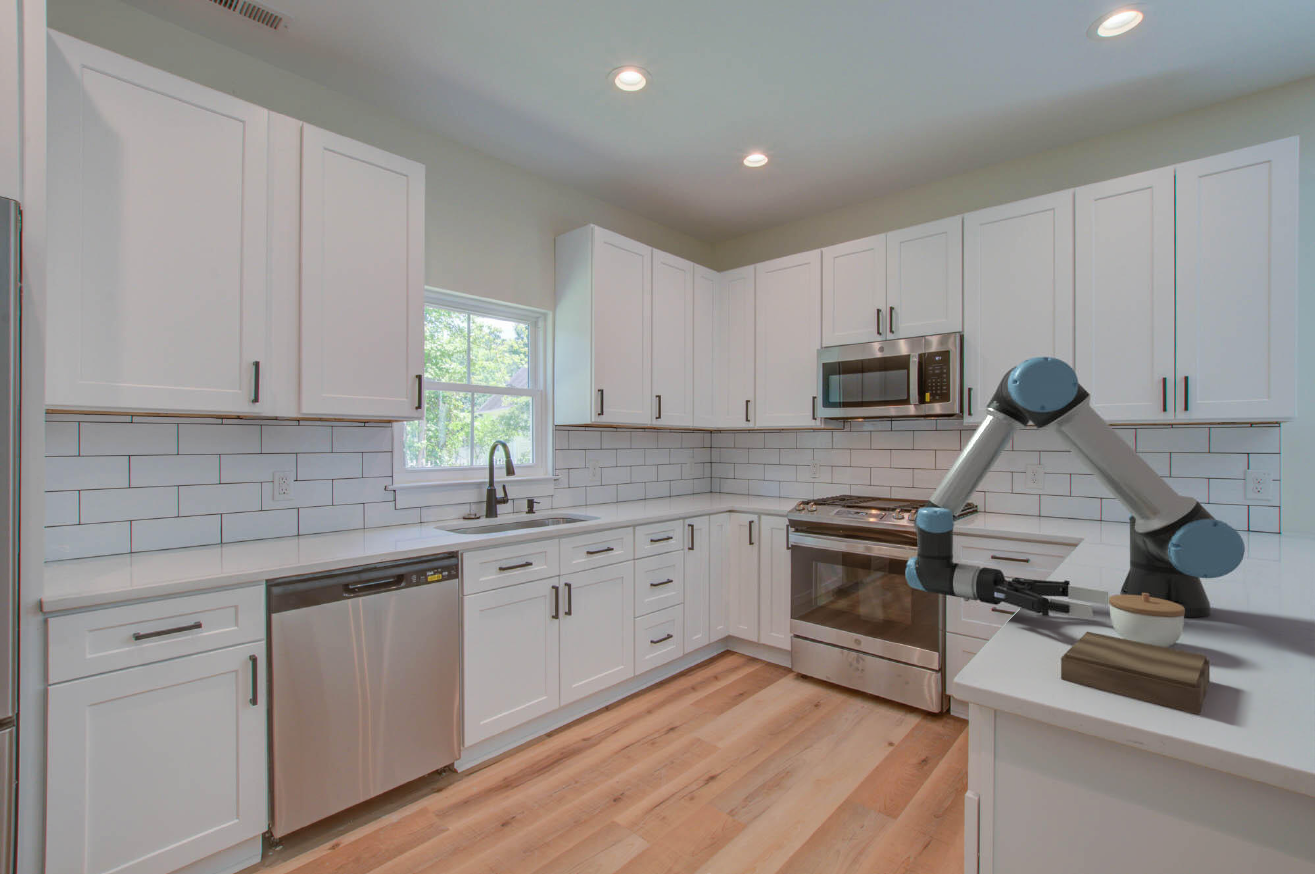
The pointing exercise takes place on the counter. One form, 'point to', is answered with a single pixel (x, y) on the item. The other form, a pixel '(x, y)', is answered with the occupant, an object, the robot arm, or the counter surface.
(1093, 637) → the walnut stand
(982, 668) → the counter surface
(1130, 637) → the lidded jar
